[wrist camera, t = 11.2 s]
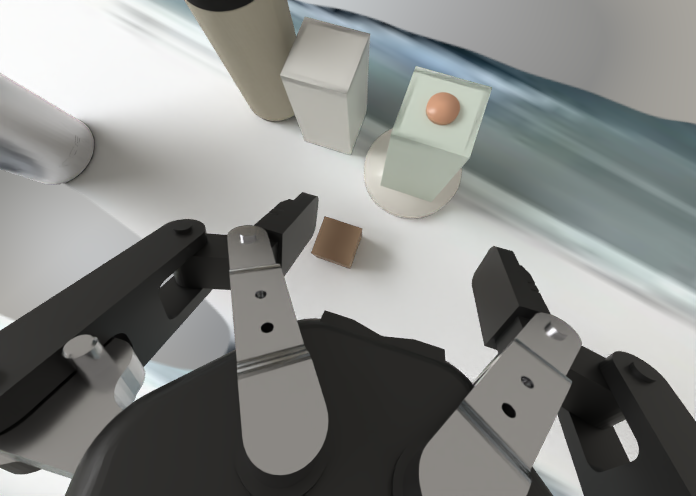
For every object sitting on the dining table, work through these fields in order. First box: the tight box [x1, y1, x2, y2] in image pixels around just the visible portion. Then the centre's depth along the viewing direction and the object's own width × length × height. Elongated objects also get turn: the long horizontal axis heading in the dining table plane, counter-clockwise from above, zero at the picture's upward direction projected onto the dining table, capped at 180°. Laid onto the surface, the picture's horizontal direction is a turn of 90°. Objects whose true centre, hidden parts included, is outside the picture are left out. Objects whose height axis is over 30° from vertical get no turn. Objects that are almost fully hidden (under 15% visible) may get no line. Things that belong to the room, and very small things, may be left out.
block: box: [311, 216, 362, 269], centre depth 28 cm, size 4×4×4 cm
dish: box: [364, 128, 462, 218], centre depth 30 cm, size 11×11×1 cm
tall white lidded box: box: [280, 17, 370, 155], centre depth 27 cm, size 6×6×10 cm
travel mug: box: [185, 0, 296, 121], centre depth 24 cm, size 8×8×18 cm
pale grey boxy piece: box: [380, 66, 492, 202], centre depth 24 cm, size 6×6×10 cm
